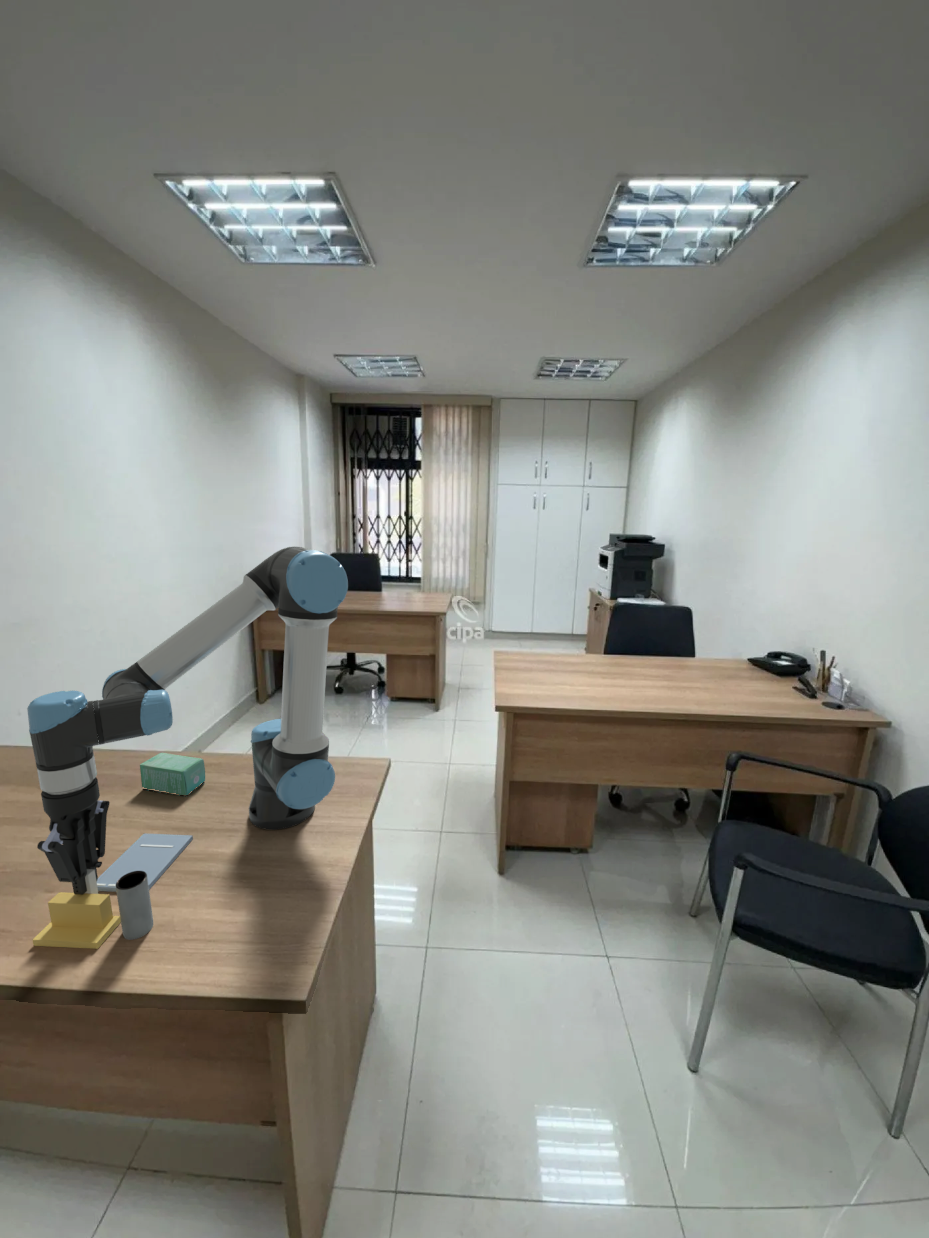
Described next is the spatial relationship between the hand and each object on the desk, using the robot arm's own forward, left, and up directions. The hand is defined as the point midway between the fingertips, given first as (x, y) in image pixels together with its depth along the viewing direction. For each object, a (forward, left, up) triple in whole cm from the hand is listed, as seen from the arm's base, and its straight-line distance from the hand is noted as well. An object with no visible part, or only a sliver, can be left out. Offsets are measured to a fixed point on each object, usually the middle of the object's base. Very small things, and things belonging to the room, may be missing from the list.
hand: (88, 903), depth 89 cm
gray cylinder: (-10, +2, -4) cm, 10 cm away
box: (+11, -43, -4) cm, 45 cm away
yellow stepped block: (0, +3, -3) cm, 4 cm away
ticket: (0, -15, -4) cm, 15 cm away
